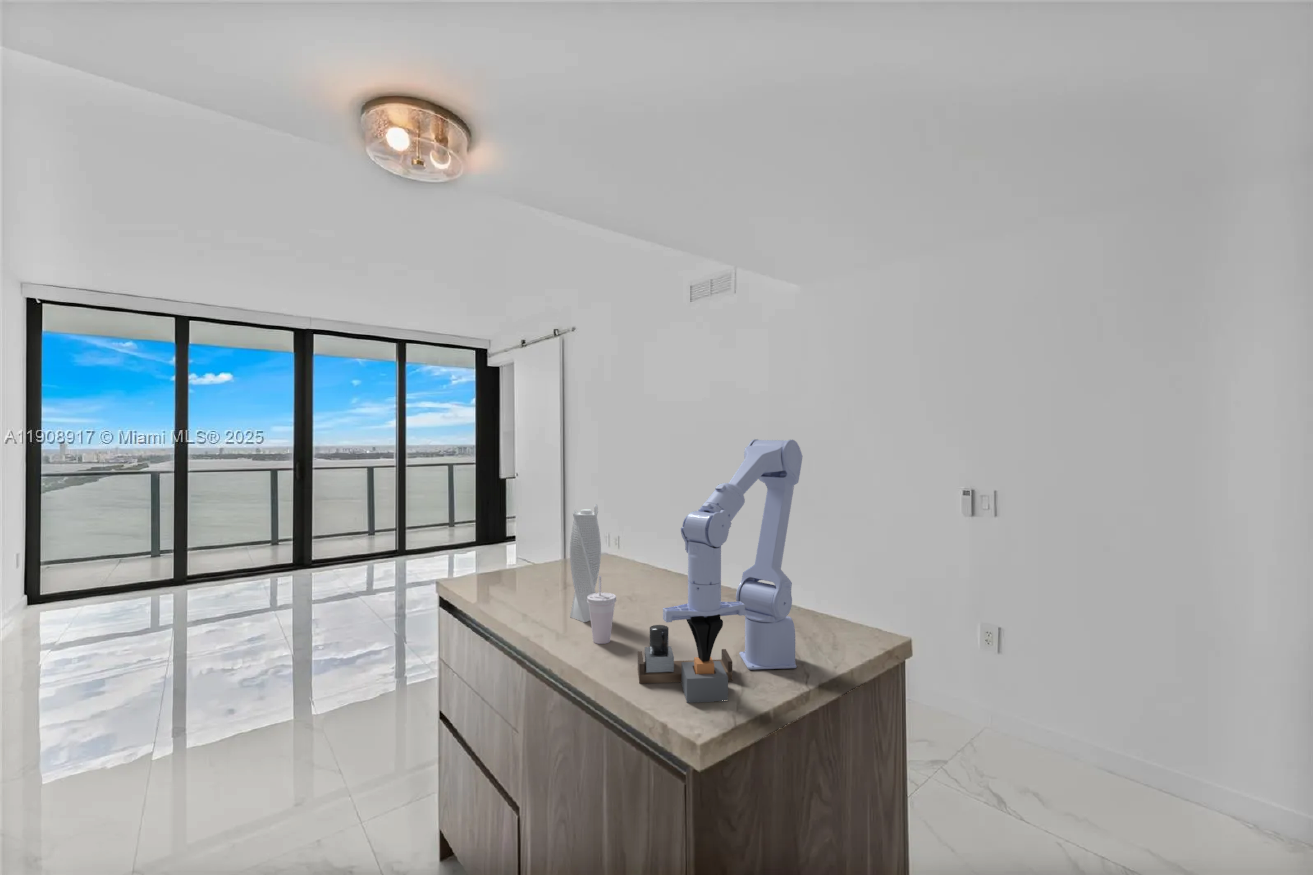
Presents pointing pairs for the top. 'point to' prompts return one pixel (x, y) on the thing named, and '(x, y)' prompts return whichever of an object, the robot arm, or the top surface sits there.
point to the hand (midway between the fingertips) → (704, 659)
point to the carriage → (659, 651)
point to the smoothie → (601, 615)
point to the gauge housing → (704, 684)
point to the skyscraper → (584, 560)
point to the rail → (676, 670)
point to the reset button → (703, 666)
